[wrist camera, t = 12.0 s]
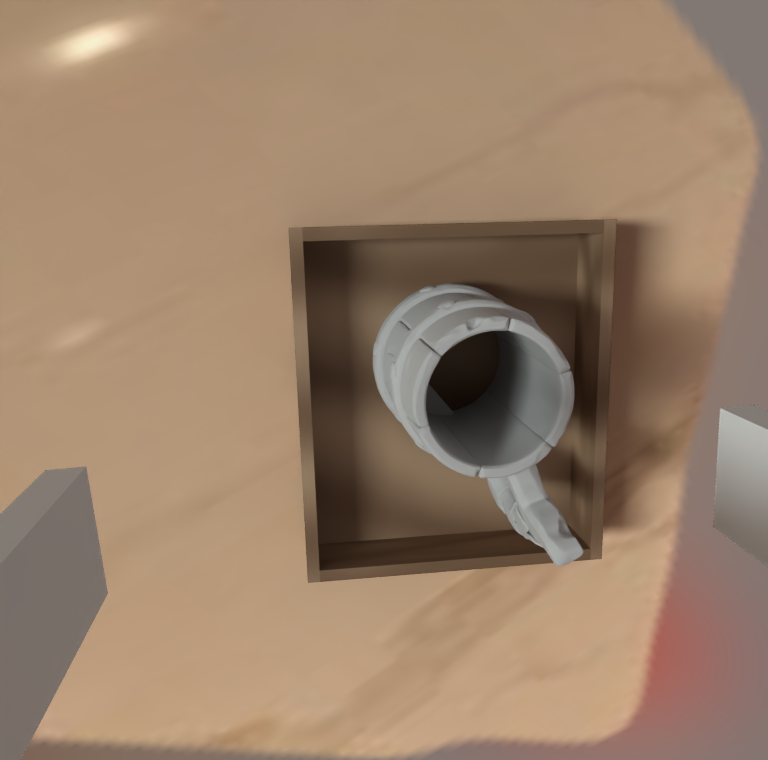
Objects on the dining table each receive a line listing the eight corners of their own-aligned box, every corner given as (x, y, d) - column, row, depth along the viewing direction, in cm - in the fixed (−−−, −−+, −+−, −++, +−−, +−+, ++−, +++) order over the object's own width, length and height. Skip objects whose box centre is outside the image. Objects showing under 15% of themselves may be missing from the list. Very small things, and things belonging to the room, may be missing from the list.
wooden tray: (290, 228, 34) (288, 227, 30) (584, 220, 36) (616, 219, 32) (307, 548, 38) (308, 582, 34) (573, 528, 39) (601, 558, 36)
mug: (482, 255, 35) (573, 266, 23) (562, 456, 37) (680, 557, 26) (345, 318, 34) (366, 361, 23) (435, 515, 37) (496, 643, 26)
